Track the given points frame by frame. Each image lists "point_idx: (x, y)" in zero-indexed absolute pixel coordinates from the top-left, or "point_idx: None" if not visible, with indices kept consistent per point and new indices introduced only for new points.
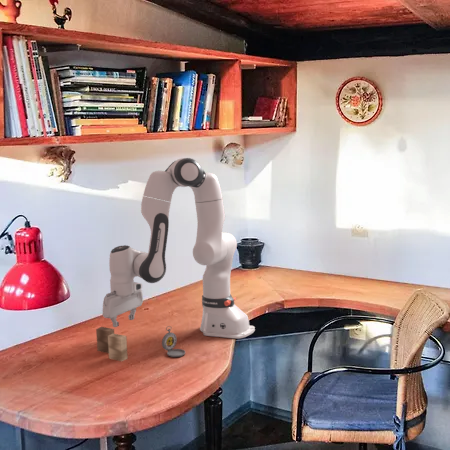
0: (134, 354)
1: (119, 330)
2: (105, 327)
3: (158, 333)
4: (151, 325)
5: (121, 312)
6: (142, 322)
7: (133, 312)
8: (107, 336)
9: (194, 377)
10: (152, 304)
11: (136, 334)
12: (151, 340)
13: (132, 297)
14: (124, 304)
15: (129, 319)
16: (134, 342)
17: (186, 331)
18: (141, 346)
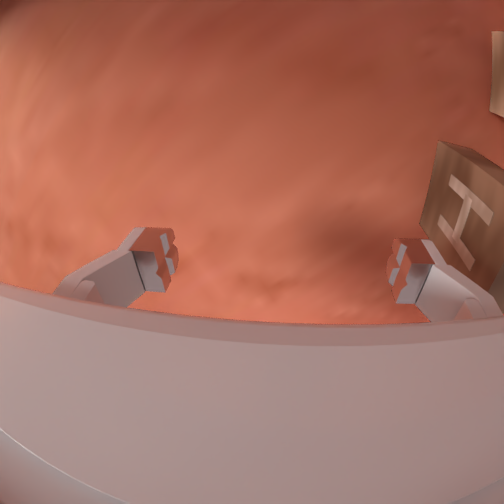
0: (439, 9)
1: (166, 292)
2: (491, 287)
3: (74, 100)
4: (43, 213)
5: (443, 338)
6: (55, 263)
7: (107, 276)
8: None
9: None
10: None
11: (150, 190)
12: (177, 38)
13: (21, 482)
14: (361, 490)
15: (177, 255)
16: (267, 107)
17: (10, 31)
18: (309, 21)
